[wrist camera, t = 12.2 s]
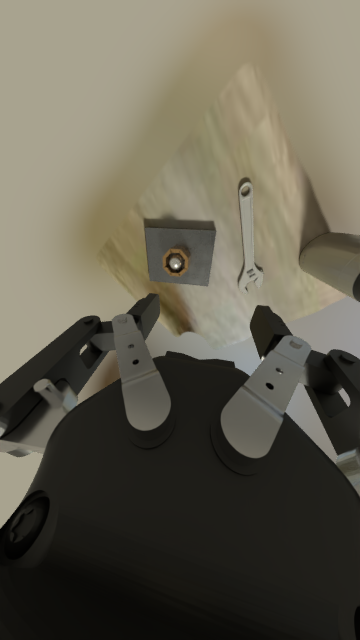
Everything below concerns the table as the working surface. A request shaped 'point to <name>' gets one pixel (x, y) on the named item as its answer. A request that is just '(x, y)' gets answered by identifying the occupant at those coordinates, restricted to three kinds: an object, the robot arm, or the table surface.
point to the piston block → (193, 241)
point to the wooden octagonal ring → (184, 254)
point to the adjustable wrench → (248, 241)
